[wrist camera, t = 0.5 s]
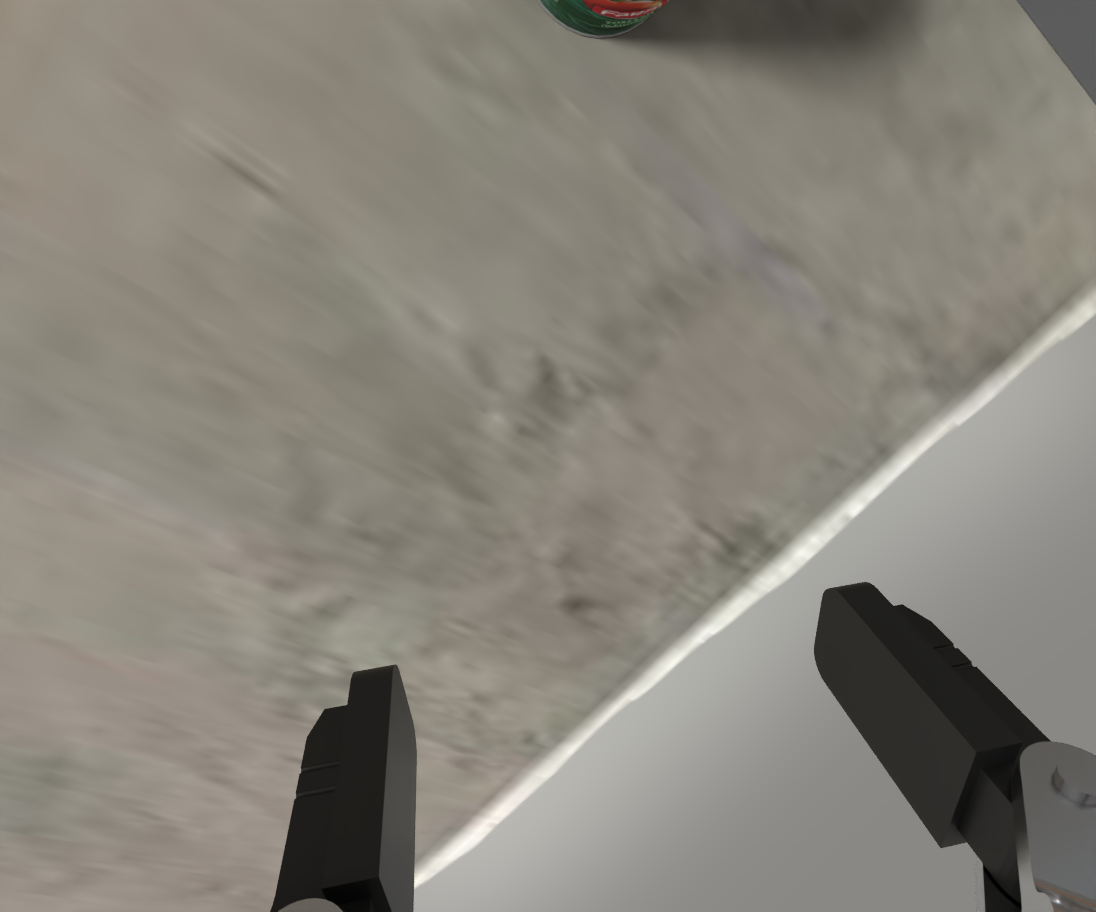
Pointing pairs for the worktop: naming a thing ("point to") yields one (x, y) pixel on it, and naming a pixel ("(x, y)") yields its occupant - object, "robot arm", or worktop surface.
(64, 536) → the worktop surface
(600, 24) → the canned tomato
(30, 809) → the worktop surface
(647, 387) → the worktop surface
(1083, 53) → the breaker block
